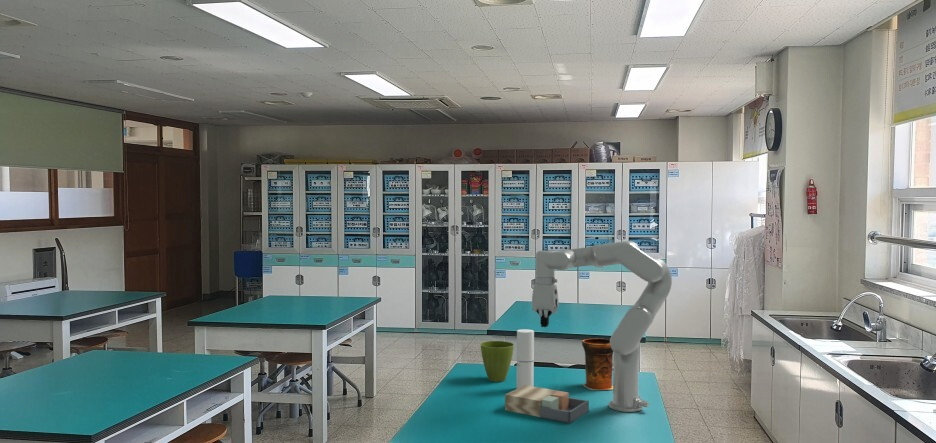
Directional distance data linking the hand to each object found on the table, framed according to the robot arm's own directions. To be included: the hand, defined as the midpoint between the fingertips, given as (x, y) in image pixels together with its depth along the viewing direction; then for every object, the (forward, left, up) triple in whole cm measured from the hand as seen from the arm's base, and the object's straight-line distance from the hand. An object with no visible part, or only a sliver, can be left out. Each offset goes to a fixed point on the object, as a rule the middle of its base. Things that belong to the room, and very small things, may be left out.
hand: (544, 326), depth 270 cm
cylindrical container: (+12, -6, -29) cm, 32 cm away
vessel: (-12, -28, -29) cm, 42 cm away
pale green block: (-10, +19, -26) cm, 34 cm away
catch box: (-16, +15, -29) cm, 36 cm away
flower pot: (+30, -13, -29) cm, 44 cm away
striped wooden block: (-2, +15, -29) cm, 33 cm away
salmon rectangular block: (-10, +11, -26) cm, 30 cm away
